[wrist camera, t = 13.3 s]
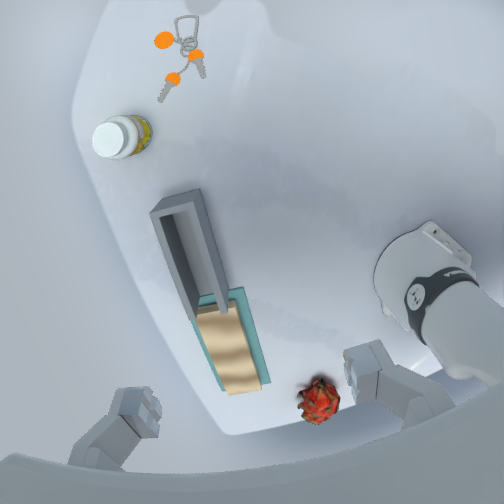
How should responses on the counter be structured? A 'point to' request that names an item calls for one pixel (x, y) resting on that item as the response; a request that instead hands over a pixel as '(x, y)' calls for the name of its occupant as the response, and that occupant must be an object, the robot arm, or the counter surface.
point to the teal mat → (249, 329)
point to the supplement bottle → (121, 137)
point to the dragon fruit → (319, 402)
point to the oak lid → (228, 348)
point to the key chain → (194, 56)
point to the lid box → (190, 250)
